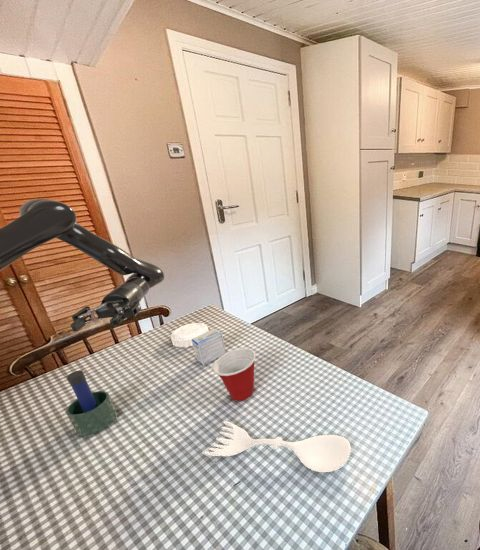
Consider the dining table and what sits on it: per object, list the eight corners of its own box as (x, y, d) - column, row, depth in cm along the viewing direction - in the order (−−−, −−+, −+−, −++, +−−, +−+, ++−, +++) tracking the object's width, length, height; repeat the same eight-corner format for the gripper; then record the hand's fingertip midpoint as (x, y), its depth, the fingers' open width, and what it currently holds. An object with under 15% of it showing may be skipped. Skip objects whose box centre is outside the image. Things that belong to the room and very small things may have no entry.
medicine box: (219, 349, 105) (214, 327, 102) (226, 353, 102) (222, 332, 99) (196, 361, 99) (190, 338, 96) (203, 366, 96) (197, 343, 93)
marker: (87, 428, 74) (63, 379, 69) (93, 418, 77) (71, 371, 71) (100, 425, 75) (78, 377, 69) (106, 416, 77) (85, 369, 72)
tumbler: (68, 440, 72) (57, 418, 69) (88, 414, 79) (79, 394, 76) (107, 433, 73) (97, 412, 71) (123, 409, 81) (115, 388, 78)
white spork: (226, 428, 75) (223, 418, 73) (354, 442, 71) (353, 431, 70) (203, 463, 66) (200, 452, 65) (347, 480, 63) (346, 469, 61)
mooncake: (194, 326, 118) (192, 319, 117) (216, 333, 114) (214, 325, 113) (164, 343, 108) (162, 334, 107) (188, 351, 104) (185, 342, 102)
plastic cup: (221, 387, 88) (212, 353, 83) (260, 376, 92) (254, 343, 87) (220, 414, 79) (211, 377, 74) (263, 401, 83) (257, 366, 78)
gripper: (92, 290, 90) (54, 317, 75) (146, 285, 93) (120, 310, 78) (101, 312, 92) (66, 342, 78) (153, 306, 95) (129, 334, 81)
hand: (93, 326), depth 78 cm, fingers open, 8 cm apart
